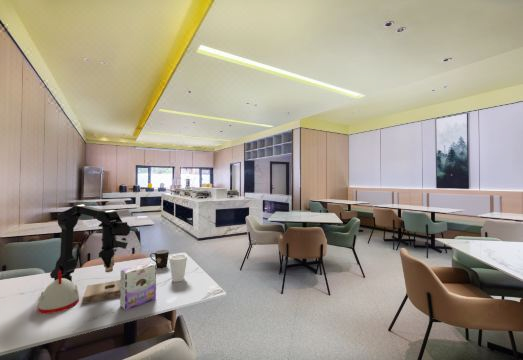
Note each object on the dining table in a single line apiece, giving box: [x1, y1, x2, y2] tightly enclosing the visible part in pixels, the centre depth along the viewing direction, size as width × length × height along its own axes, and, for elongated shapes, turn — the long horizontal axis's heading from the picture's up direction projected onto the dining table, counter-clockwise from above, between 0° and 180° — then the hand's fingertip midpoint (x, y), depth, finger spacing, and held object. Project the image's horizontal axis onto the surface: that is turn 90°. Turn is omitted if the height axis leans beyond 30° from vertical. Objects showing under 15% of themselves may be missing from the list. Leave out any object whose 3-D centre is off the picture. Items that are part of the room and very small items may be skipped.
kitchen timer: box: [37, 271, 80, 315], centre depth 107 cm, size 14×14×15 cm
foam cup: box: [168, 254, 188, 283], centre depth 136 cm, size 10×9×13 cm
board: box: [82, 279, 121, 304], centre depth 119 cm, size 16×14×3 cm
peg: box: [103, 255, 115, 273], centre depth 120 cm, size 4×4×8 cm
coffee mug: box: [149, 249, 170, 270], centre depth 157 cm, size 12×9×10 cm
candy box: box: [119, 262, 157, 311], centre depth 110 cm, size 14×6×16 cm, turn 141°
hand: (109, 266), depth 120 cm, fingers closed on peg, 4 cm apart
